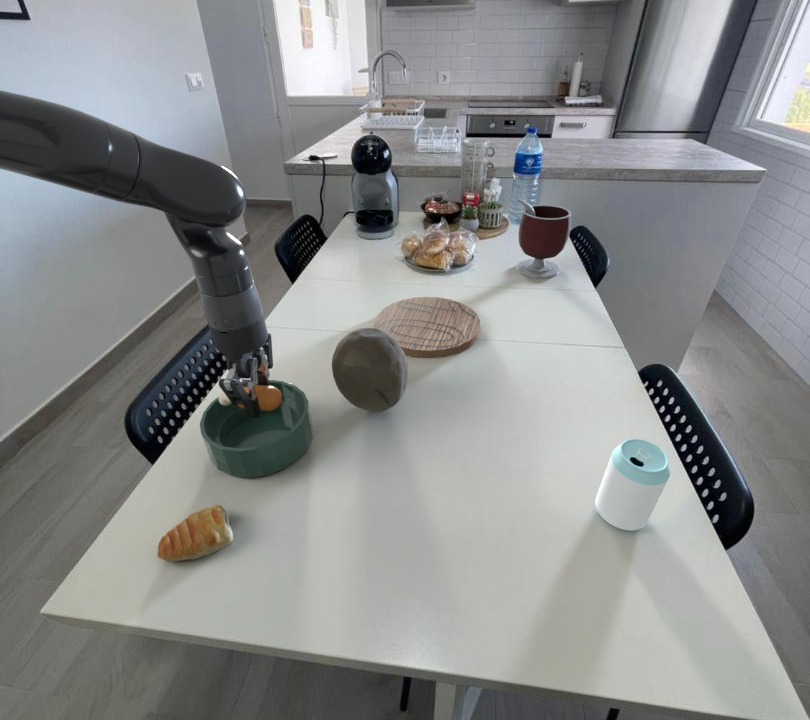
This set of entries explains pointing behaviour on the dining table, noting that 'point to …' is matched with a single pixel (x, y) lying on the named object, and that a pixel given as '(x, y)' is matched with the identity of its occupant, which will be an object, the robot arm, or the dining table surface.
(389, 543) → the dining table surface
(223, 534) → the pastry
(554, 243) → the mate gourd
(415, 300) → the trivet
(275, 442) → the green faceted bowl
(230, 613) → the dining table surface
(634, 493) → the can
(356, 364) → the grey clay lump
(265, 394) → the drumstick
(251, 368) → the robot arm
